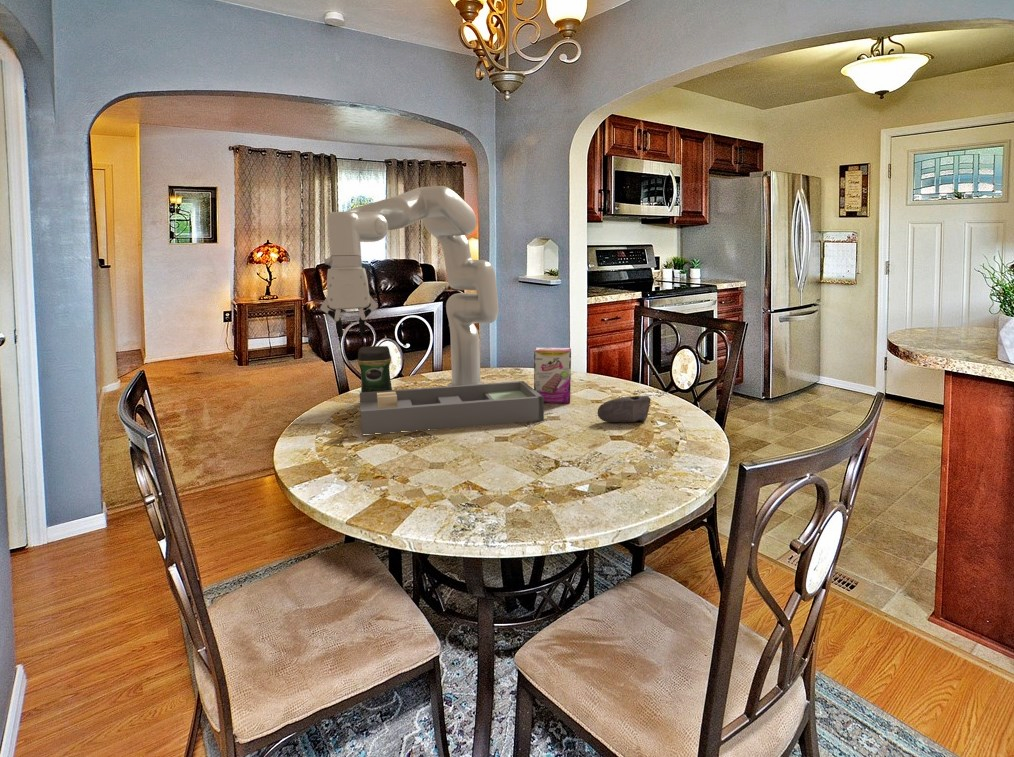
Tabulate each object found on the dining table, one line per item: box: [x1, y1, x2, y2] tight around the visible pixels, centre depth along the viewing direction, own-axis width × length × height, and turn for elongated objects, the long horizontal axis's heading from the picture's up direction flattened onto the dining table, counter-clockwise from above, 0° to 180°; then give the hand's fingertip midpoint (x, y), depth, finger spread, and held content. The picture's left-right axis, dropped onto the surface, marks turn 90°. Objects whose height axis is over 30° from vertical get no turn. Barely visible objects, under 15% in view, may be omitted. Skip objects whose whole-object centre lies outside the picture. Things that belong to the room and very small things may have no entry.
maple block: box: [377, 392, 398, 409], centre depth 165 cm, size 5×5×5 cm
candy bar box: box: [533, 347, 572, 404], centre depth 188 cm, size 11×5×16 cm, turn 84°
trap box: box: [359, 380, 545, 436], centre depth 174 cm, size 21×48×6 cm, turn 104°
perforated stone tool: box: [597, 395, 652, 424], centre depth 167 cm, size 15×5×7 cm, turn 94°
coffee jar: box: [357, 345, 393, 392], centre depth 184 cm, size 10×8×19 cm
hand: (351, 334), depth 159 cm, fingers open, 4 cm apart
